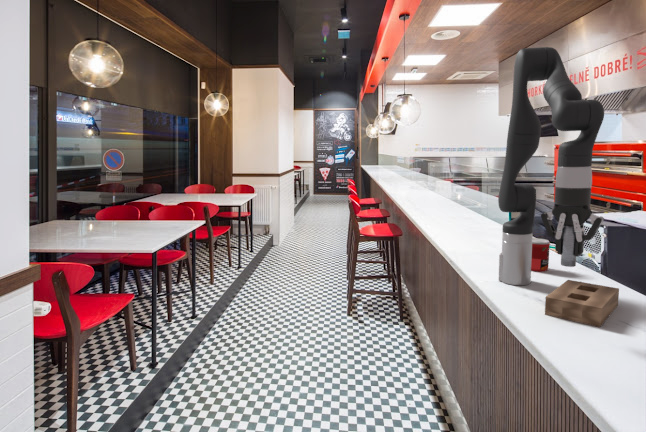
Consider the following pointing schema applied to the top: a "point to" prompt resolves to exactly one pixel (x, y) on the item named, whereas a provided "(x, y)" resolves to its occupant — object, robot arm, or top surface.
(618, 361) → the top surface
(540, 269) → the canned food
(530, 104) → the robot arm
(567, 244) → the pin
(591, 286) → the hole block
